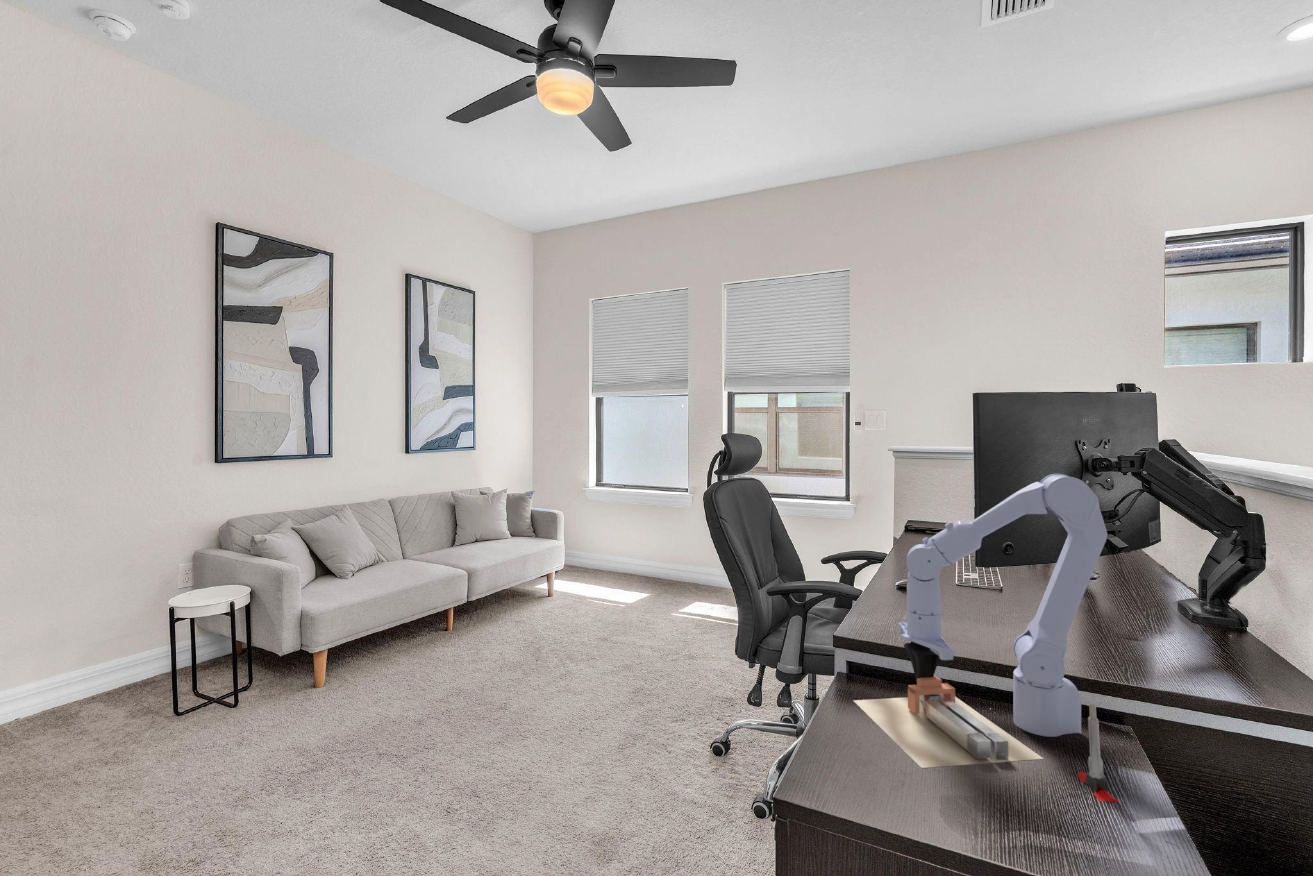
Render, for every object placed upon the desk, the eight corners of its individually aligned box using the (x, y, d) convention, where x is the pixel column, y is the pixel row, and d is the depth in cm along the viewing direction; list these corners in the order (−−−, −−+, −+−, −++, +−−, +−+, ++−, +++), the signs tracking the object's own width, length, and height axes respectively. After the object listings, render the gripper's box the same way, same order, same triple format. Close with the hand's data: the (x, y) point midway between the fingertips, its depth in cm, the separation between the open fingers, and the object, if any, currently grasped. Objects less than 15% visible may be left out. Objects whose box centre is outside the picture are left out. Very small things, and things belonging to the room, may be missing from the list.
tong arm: (936, 714, 103) (936, 700, 103) (990, 758, 89) (990, 741, 89) (925, 715, 103) (925, 700, 103) (977, 759, 89) (977, 741, 89)
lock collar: (946, 705, 107) (946, 676, 107) (955, 711, 105) (955, 681, 105) (907, 707, 106) (907, 678, 106) (915, 714, 104) (915, 684, 104)
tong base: (928, 698, 111) (928, 681, 111) (1008, 759, 90) (1008, 738, 90) (909, 699, 110) (909, 682, 110) (984, 761, 89) (984, 740, 89)
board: (952, 699, 112) (952, 694, 112) (1043, 765, 90) (1043, 758, 90) (853, 705, 110) (853, 700, 110) (921, 774, 87) (921, 767, 87)
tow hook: (1054, 815, 79) (1125, 814, 78) (1048, 719, 79) (1120, 717, 78) (1018, 779, 87) (1083, 778, 87) (1013, 692, 87) (1078, 690, 87)
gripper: (883, 600, 114) (883, 670, 114) (925, 624, 100) (926, 703, 100) (917, 599, 115) (917, 668, 115) (964, 622, 101) (964, 701, 101)
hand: (923, 684), depth 108 cm, fingers closed
